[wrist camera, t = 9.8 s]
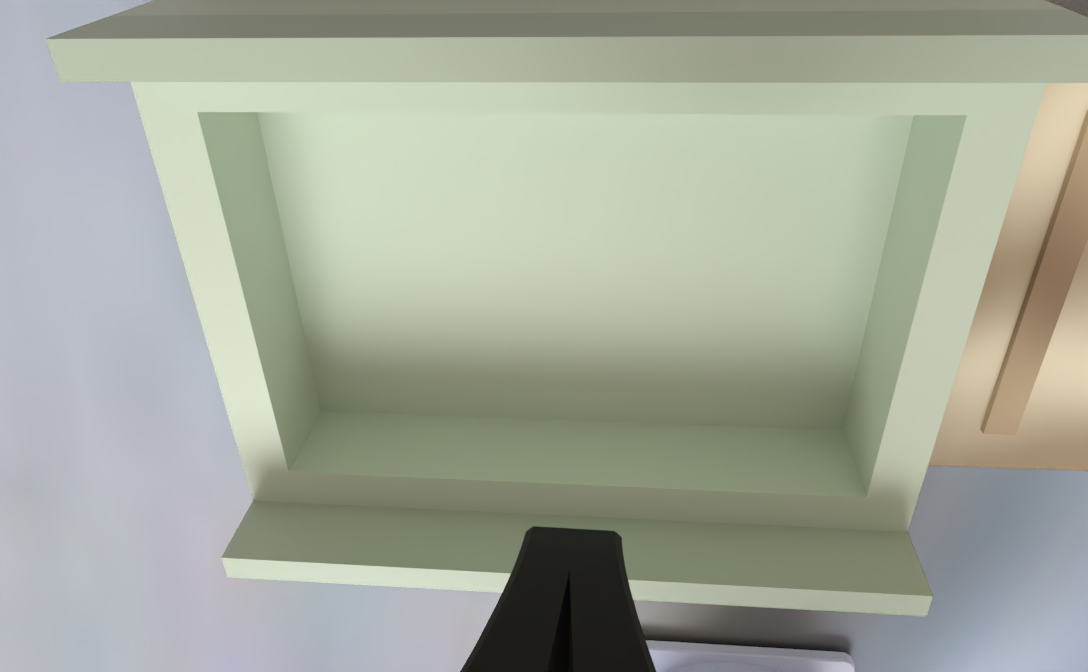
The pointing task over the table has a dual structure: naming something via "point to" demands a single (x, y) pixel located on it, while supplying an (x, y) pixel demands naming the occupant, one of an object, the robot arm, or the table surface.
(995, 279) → the cover plate
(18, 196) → the table surface
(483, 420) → the green tray
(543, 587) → the robot arm
